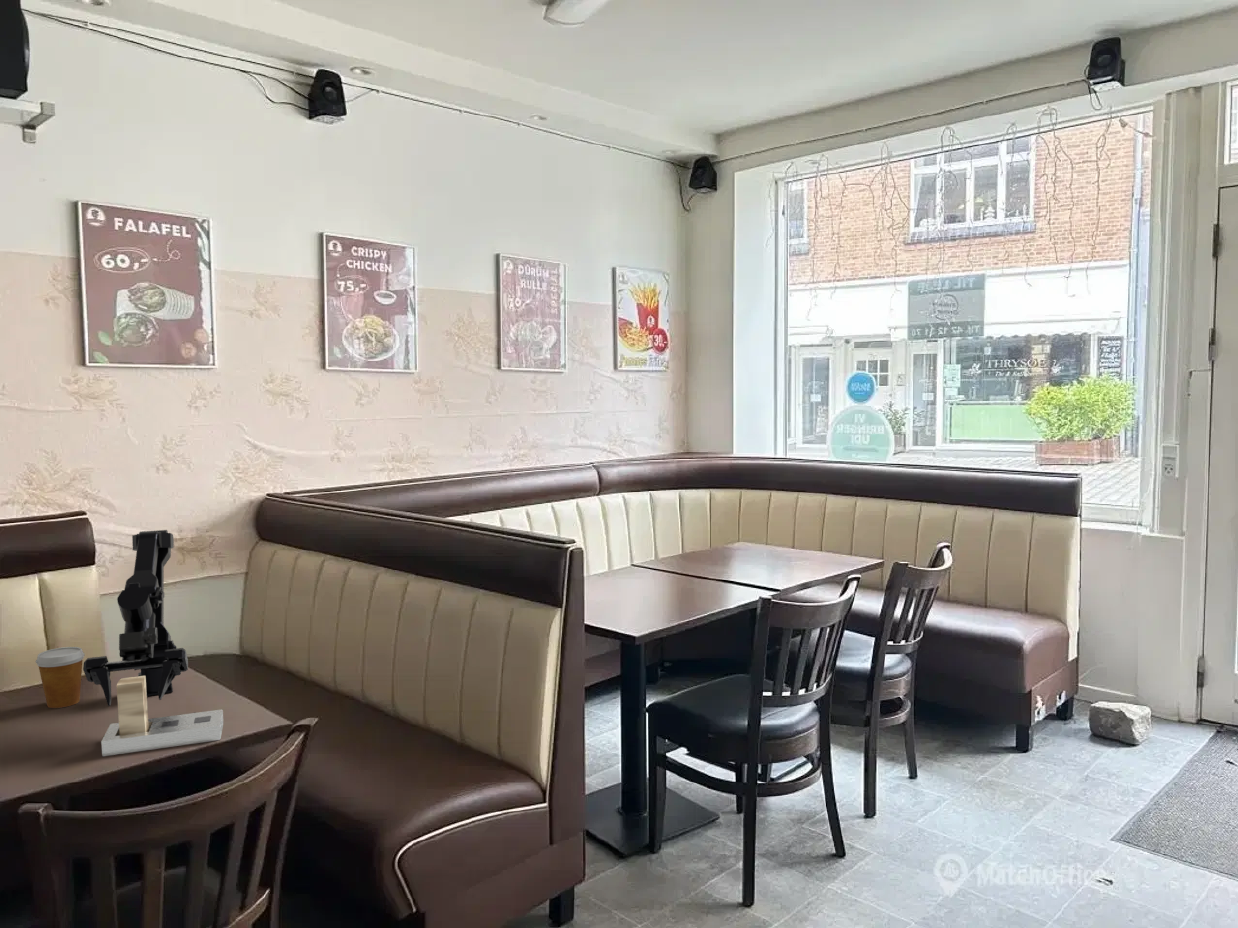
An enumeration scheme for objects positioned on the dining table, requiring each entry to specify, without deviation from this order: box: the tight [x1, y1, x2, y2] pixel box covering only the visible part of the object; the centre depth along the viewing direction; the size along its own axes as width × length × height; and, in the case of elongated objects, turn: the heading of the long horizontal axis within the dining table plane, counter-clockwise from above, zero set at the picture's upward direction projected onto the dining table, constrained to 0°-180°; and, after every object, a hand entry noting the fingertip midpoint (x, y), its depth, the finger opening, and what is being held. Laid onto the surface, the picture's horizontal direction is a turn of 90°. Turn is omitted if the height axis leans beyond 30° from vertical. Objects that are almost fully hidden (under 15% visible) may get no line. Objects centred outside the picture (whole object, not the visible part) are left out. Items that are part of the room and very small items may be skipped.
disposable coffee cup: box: [35, 646, 86, 709], centre depth 203 cm, size 10×10×12 cm
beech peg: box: [116, 675, 149, 736], centre depth 178 cm, size 4×4×13 cm
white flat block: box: [100, 709, 224, 757], centre depth 181 cm, size 21×10×3 cm, turn 111°
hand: (134, 701), depth 180 cm, fingers open, 9 cm apart
